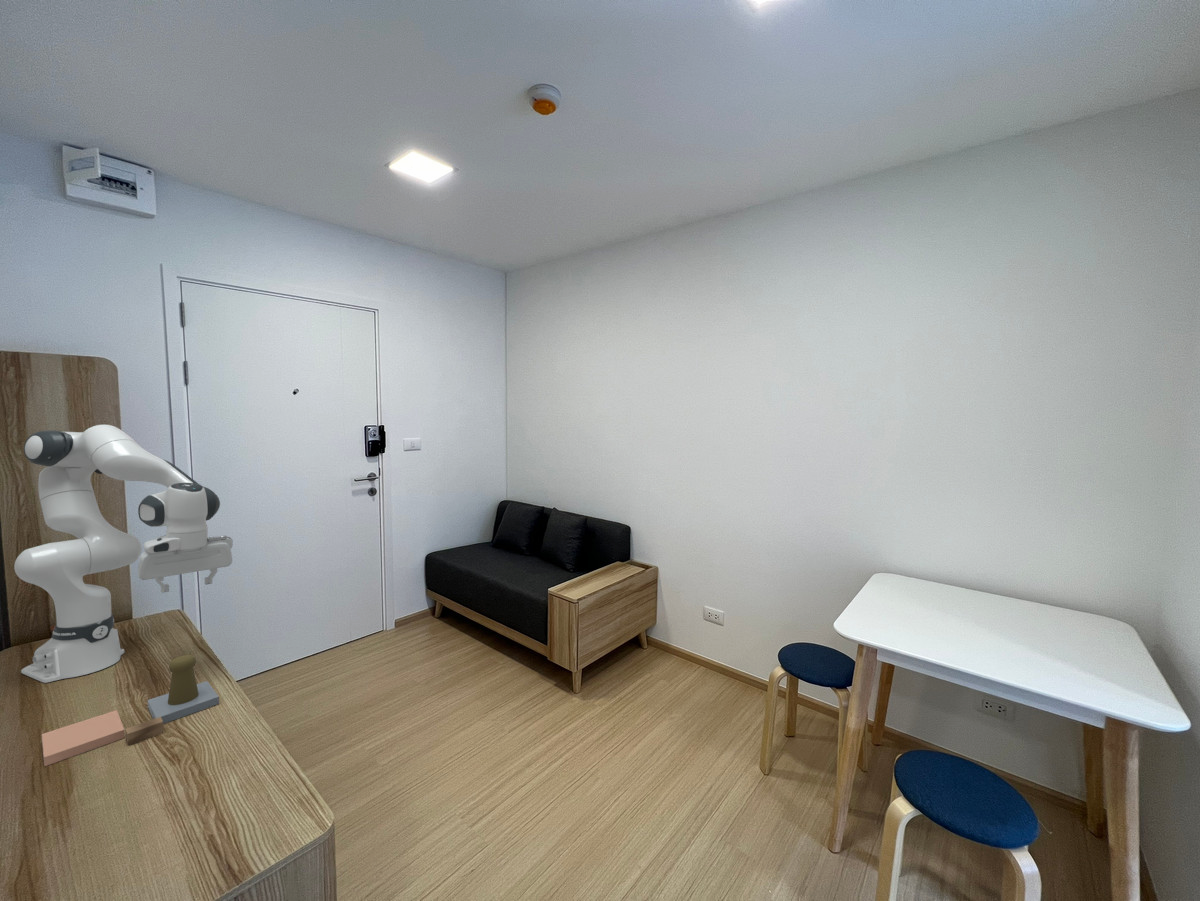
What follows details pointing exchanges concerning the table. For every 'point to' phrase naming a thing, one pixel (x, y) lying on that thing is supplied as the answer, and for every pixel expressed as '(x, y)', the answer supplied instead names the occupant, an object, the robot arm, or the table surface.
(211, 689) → the steel tile
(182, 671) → the olive rounded tall piece
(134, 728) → the walnut brick
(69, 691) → the table surface
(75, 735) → the terracotta tile
